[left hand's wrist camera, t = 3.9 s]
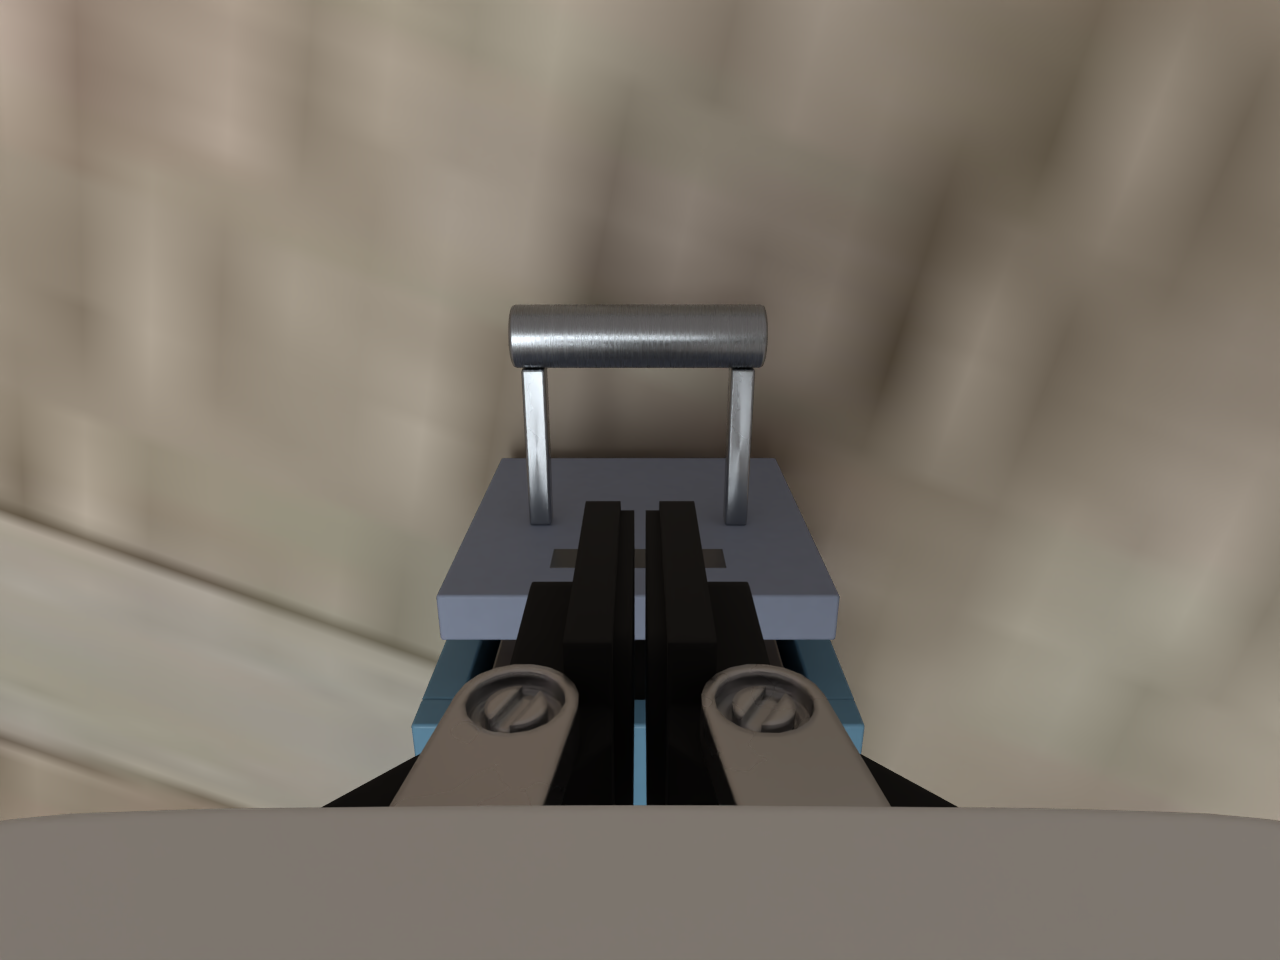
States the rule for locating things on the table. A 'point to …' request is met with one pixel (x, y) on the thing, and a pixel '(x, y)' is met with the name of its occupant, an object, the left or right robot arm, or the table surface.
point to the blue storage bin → (479, 656)
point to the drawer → (637, 482)
